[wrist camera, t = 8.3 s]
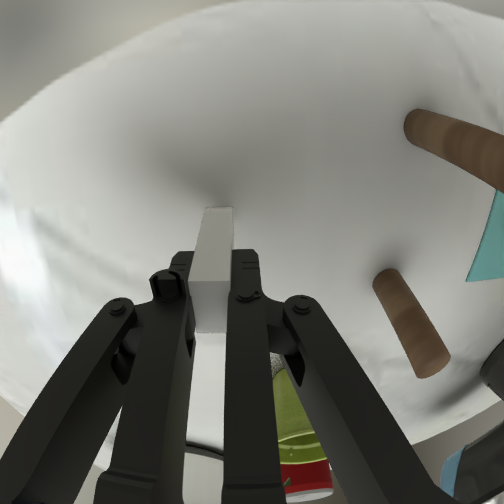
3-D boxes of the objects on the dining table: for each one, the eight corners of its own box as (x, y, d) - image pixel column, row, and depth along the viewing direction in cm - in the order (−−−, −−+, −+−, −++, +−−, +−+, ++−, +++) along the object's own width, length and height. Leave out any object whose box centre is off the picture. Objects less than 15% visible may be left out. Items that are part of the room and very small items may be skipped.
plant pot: (244, 393, 30) (246, 463, 23) (278, 343, 26) (289, 429, 18) (316, 401, 32) (327, 463, 25) (359, 356, 28) (382, 427, 20)
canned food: (275, 429, 36) (281, 497, 27) (328, 424, 37) (341, 489, 27) (270, 445, 40) (274, 504, 31) (317, 441, 41) (326, 498, 31)
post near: (435, 113, 15) (535, 149, 7) (431, 148, 16) (523, 200, 9) (405, 105, 15) (507, 136, 7) (402, 143, 16) (495, 195, 9)
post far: (403, 268, 22) (456, 349, 14) (395, 292, 23) (440, 374, 16) (376, 269, 22) (426, 357, 14) (369, 295, 23) (410, 381, 15)
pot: (250, 475, 52) (252, 526, 40) (155, 472, 53) (151, 519, 41) (220, 422, 35) (220, 514, 23) (80, 413, 35) (62, 484, 24)
